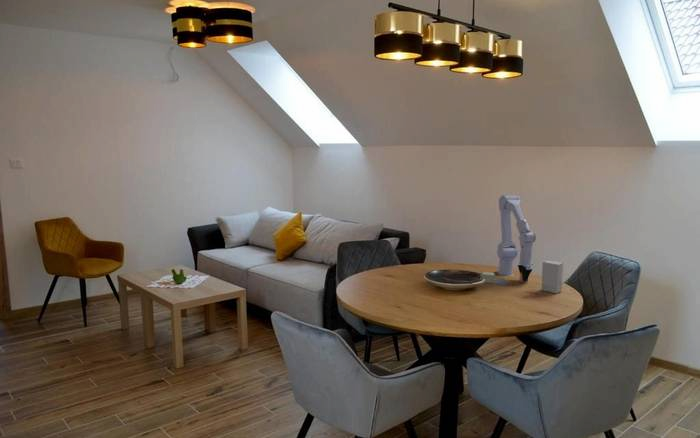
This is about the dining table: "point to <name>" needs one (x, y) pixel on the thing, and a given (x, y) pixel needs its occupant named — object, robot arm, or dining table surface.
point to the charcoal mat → (498, 282)
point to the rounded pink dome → (521, 279)
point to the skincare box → (552, 276)
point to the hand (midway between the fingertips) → (523, 280)
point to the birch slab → (489, 280)
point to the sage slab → (488, 275)
